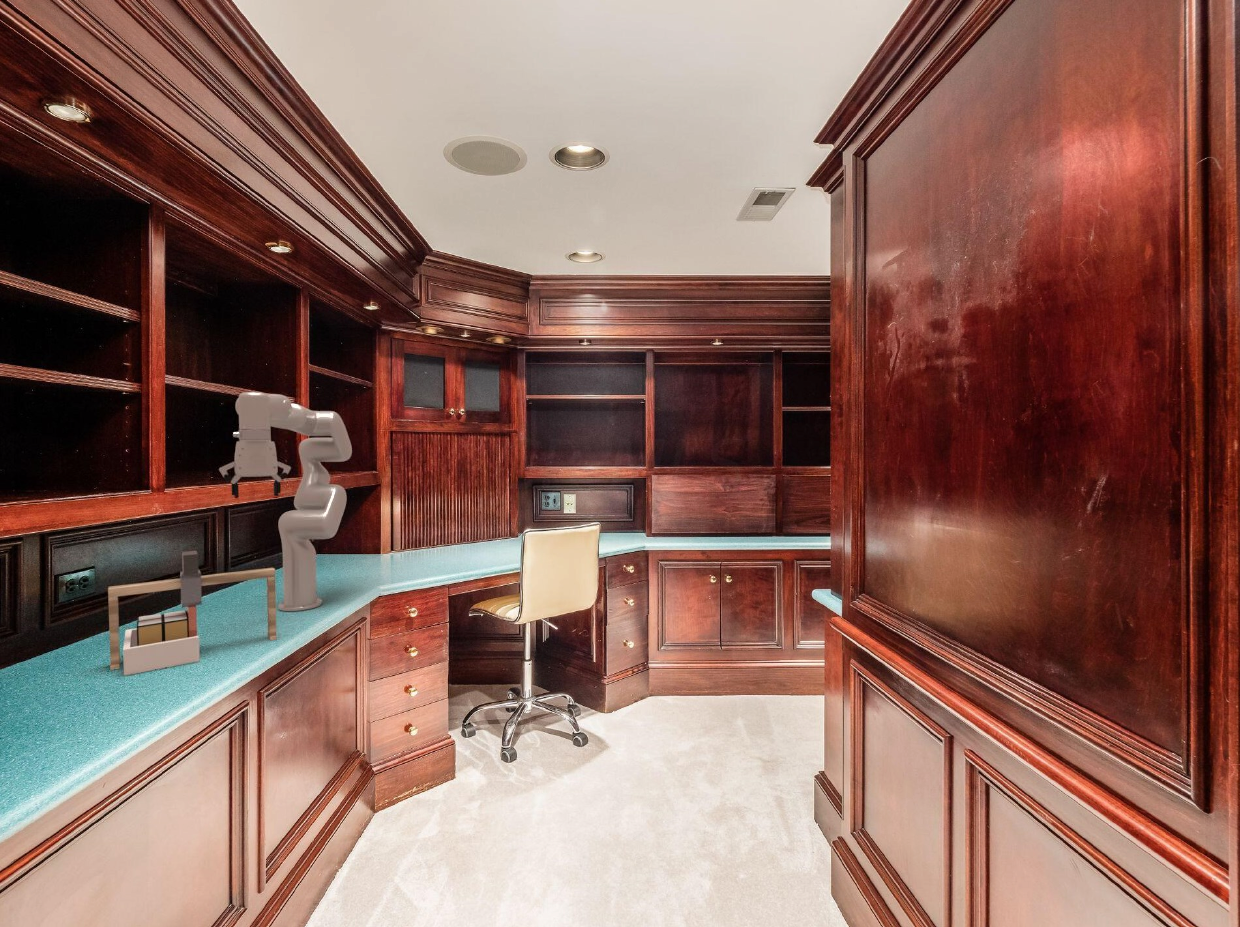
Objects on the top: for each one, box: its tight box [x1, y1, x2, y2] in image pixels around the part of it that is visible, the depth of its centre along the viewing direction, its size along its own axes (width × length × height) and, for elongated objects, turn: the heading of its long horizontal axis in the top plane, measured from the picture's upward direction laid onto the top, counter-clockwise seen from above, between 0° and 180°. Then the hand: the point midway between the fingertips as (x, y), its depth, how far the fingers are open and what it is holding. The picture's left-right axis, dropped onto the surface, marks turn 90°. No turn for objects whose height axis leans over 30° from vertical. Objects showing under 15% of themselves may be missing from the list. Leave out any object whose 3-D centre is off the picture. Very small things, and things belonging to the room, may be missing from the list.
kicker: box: [179, 550, 203, 637], centre depth 150 cm, size 9×4×24 cm, turn 39°
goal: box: [122, 627, 201, 677], centre depth 146 cm, size 18×14×6 cm
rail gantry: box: [107, 567, 278, 671], centre depth 151 cm, size 6×34×19 cm, turn 129°
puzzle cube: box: [136, 609, 189, 646], centre depth 146 cm, size 10×10×10 cm
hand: (256, 496), depth 166 cm, fingers open, 9 cm apart
